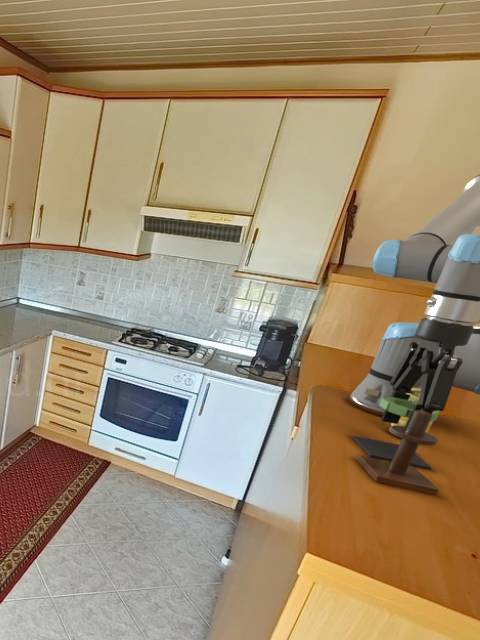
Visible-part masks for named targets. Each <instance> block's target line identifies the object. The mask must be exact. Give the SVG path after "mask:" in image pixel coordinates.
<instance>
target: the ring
mask: <svg viewBox="0 0 480 640" xmlns="http://www.w3.org/2000/svg"><path fill="white" fill-rule="evenodd" d="M414 404H419V403H417V402H414V401H409V400H405V399H400V398H394V397H386V398H382V400H381V403H380V405H379V406H381V407H382V408H383V409H385V410H387V411H388V412H391V413H394V414H397V415H400V416H403V417H407V418H409V417H410V415H411V413H412V410H413V408H414V406H413V405H414ZM432 415H433V416H432V418H431V420H430V421H433V422H435V421H437V420H438V417H439V416H440V411H439V412H438V411H433V412H432Z"/></svg>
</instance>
